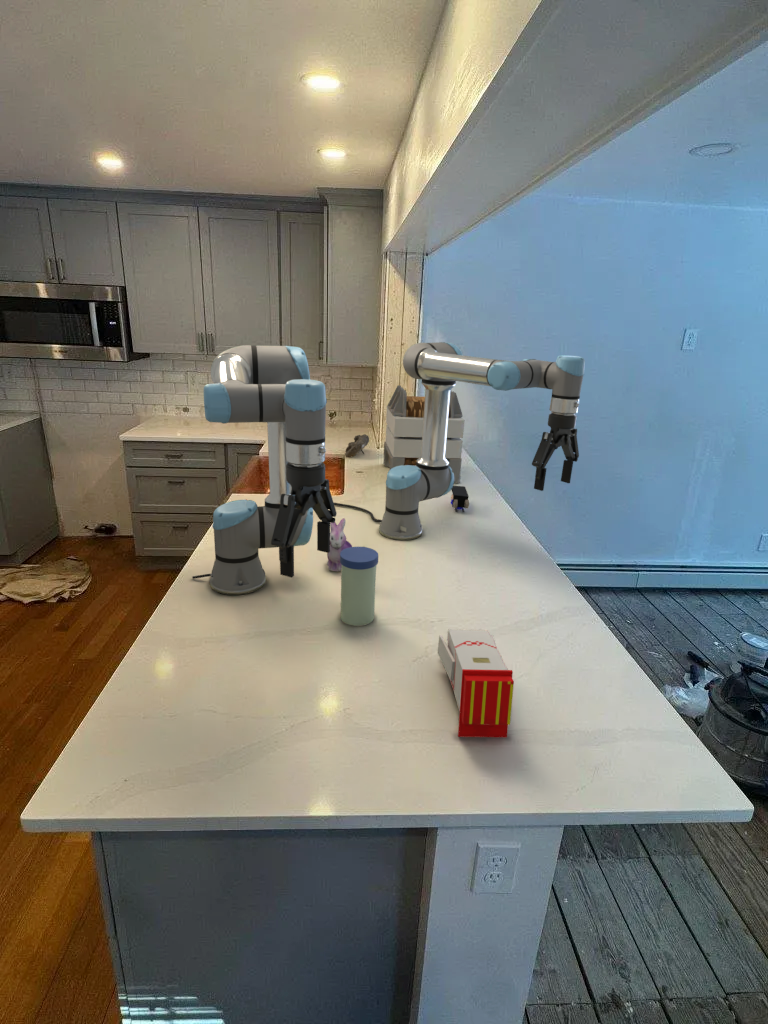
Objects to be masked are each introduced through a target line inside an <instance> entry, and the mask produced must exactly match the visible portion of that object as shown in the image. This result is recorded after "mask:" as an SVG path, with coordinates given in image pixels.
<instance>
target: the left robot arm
mask: <svg viewBox="0 0 768 1024" xmlns="http://www.w3.org/2000/svg"><path fill="white" fill-rule="evenodd" d="M310 374H311V373H310V368H309V362H308V358H307V355H306V353H305V351H304V349H302V348H301V347H299V346H291V345H251V344H244V345H237V346H234V347H231V348H229V349H226V350H224V351H222V352H221V353H219V354H218V355H216V357H215V358H214V359H213V360H212V363H211V366H210V378H211V381H212V383H207V384H205V385H204V386H203V407H204V408H203V410H204V418H205V420H206V421H207V422H208V423H220V424H236V423H237V424H238V423H239V424H242V423H243V424H244V423H266V424H267V425H266V426H267V449H268V451H267V453H268V476H269V478H268V479H269V494H268V495H267V496H266V497H265V498H264V505H263V506H260V505H259V506H258V504H257V502H256V501H254V500H252V499H236V500H231V501H228V502H224V503H223V504H221V505H219V506H218V507H216V508H215V510H214V511H213V514H212V517H213V518H212V529H213V538H214V539H213V540H214V557H215V558H214V563H213V567H212V570H211V573H204V574H198V575H193V576H191V578H192V580H195V579H200V578H207V577H209V585H210V588H211V589H212V590H213V591H215V592H216V593H219V594H222V595H227V596H228V595H230V596H240V595H247V594H250V593H254V592H256V591H258V590H260V589H261V588H263V587H264V586H265V585H266V582H267V575H266V571H265V570H264V567H263V565H262V562H261V559H260V556H259V549H273V548H275V549H276V548H278V560H279V573H280V575H281V576H283V577H287V578H294V577H295V547H301V546H305V545H307V544H309V542H310V540H311V538H312V533H313V526H314V513H315V515H316V516H317V517H318V519H319V521H317V524H316V526H317V527H316V528H317V529H316V530H317V531H316V533H317V534H316V535H317V536H316V550H317V551H319V552H323V553H329V552H330V532H331V527H330V522H331V523H334V522H335V523H336V516H337V510H336V505H334V503H335V502H334V500H333V496H332V492H331V490H330V480H329V479H328V478H326V464H325V463H324V462H325V461H326V452H327V449H326V419H327V418H326V413H327V411H326V410H327V408H326V407H327V401H328V399H327V396H326V394H327V393H326V392H327V391H326V385H325V383H324V382H322V381H321V380H316V379H311V376H310ZM333 502H334V503H333Z"/></svg>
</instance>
